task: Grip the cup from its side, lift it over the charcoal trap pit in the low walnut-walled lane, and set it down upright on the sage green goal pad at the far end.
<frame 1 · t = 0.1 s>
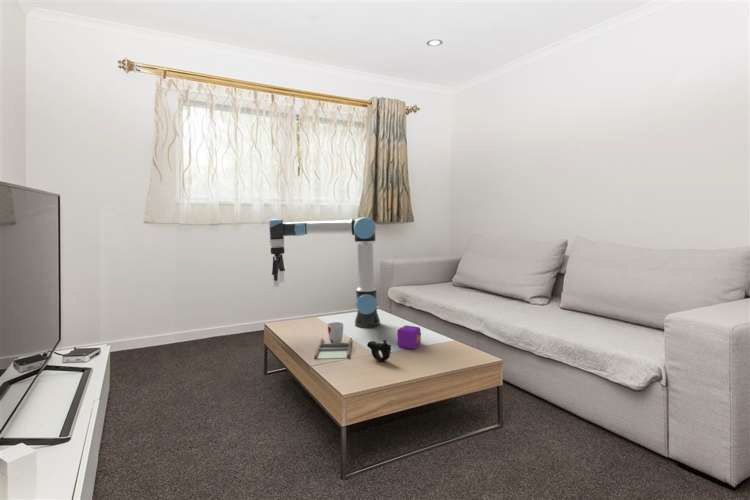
hand: (279, 284, 235), 28 cm above the table, tool pointing down, fingers open, 13 cm apart
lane: (334, 349, 207), on the table
toy camera: (410, 345, 210), on the table
goal pad: (332, 354, 198), on the table
cup: (336, 343, 216), on the table
controller: (379, 361, 189), on the table
trap pit: (334, 348, 207), on the table
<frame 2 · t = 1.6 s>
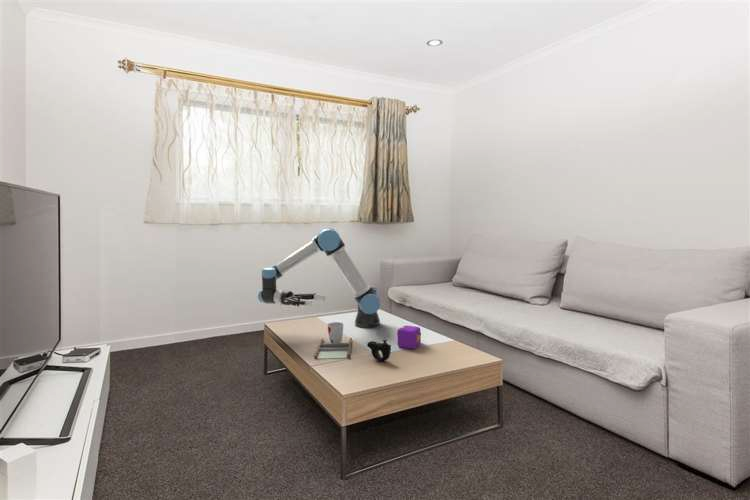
hand: (318, 300, 217), 22 cm above the table, tool horizontal, fingers open, 13 cm apart
nothing on the table moved.
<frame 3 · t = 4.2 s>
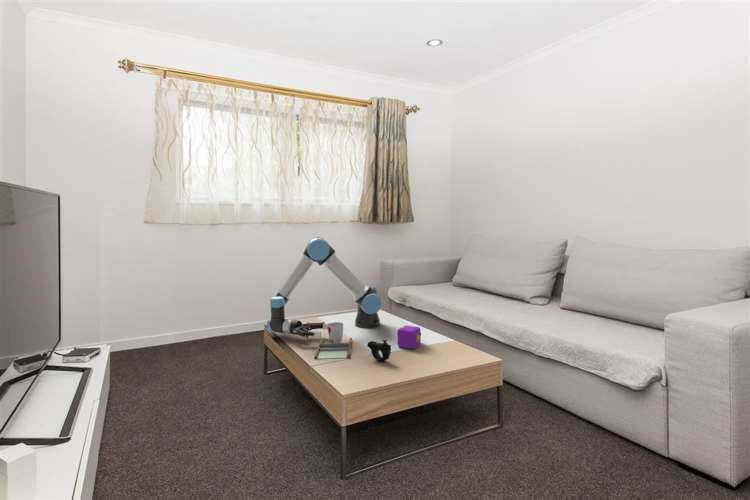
hand: (327, 330, 216), 6 cm above the table, tool horizontal, fingers open, 13 cm apart
nothing on the table moved.
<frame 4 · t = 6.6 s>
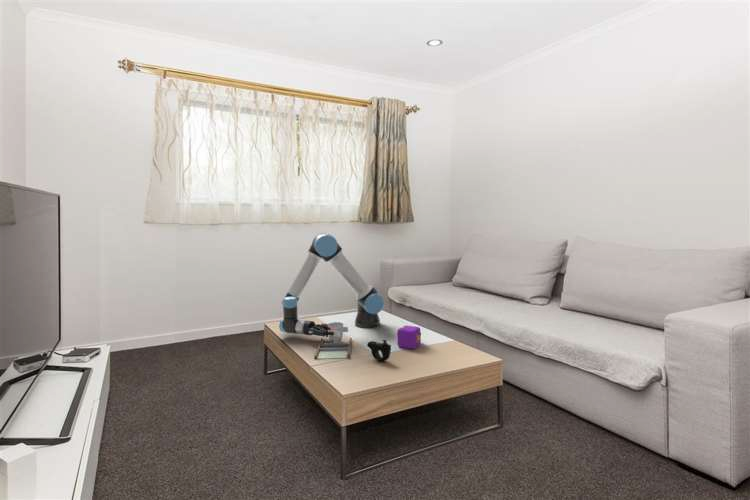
hand: (343, 331, 213), 7 cm above the table, tool horizontal, fingers closed on cup, 8 cm apart
cup: (336, 343, 216), on the table, touching gripper
everything else where it was.
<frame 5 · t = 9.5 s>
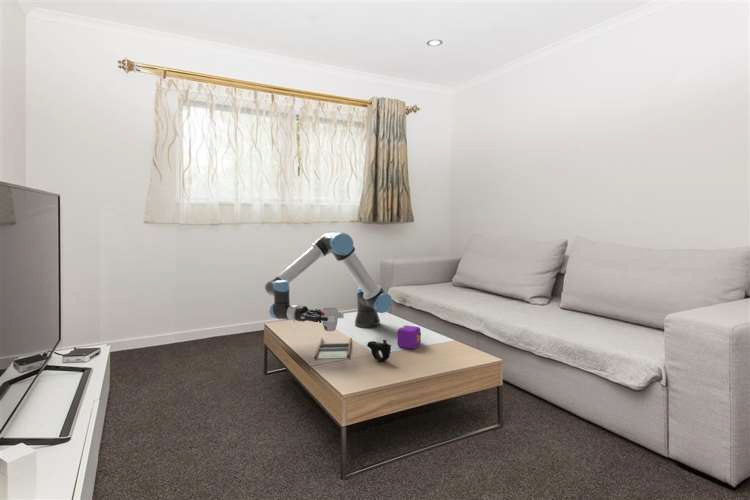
hand: (338, 317, 196), 18 cm above the table, tool horizontal, fingers closed on cup, 8 cm apart
cup: (330, 330, 198), point 12 cm above the table, touching gripper
everything else where it was.
when the fingers open (8 cm above the table, at t = 12.4 s): cup stays where it is, resting on goal pad.
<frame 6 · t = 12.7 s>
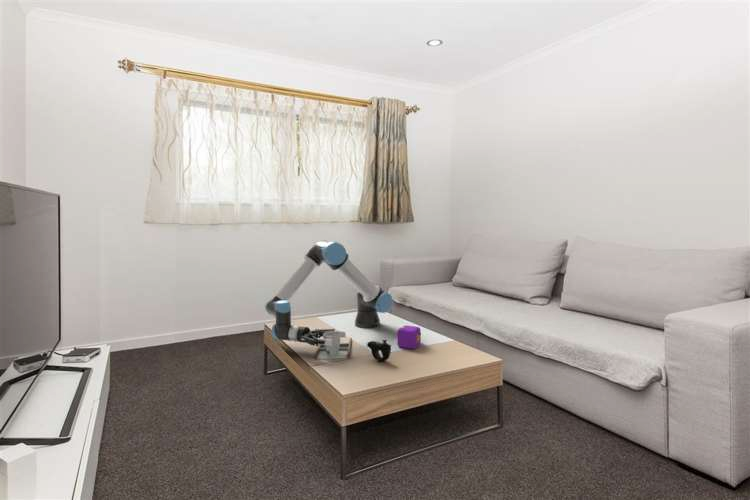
hand: (338, 338, 196), 8 cm above the table, tool horizontal, fingers open, 13 cm apart
cup: (332, 354, 198), resting on goal pad
everything else where it was.
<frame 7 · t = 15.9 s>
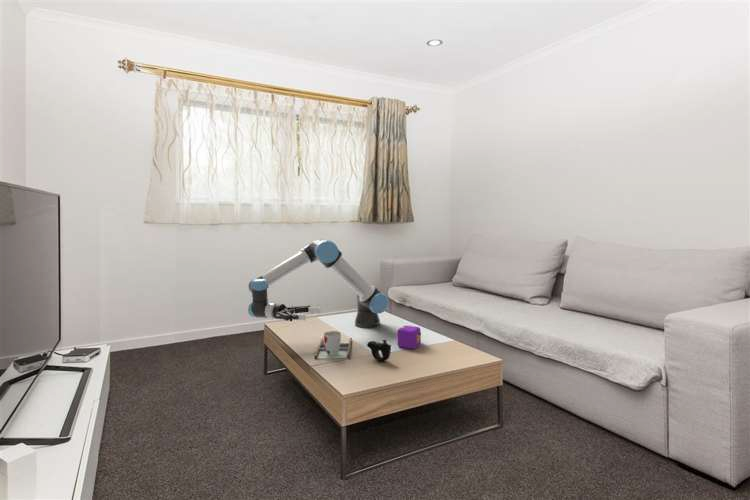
hand: (312, 313, 200), 19 cm above the table, tool horizontal, fingers open, 13 cm apart
nothing on the table moved.
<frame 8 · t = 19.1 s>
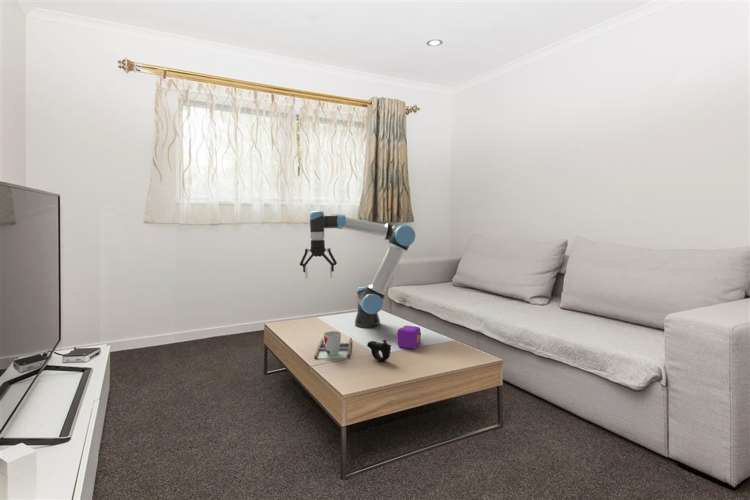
hand: (318, 278, 230), 32 cm above the table, tool pointing down, fingers open, 13 cm apart
nothing on the table moved.
at the end: cup inside the target area on the goal pad (0.5 cm from its centre), point 0.1 cm above the goal pad's base; cup tilted 1°; the gripper is holding nothing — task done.
